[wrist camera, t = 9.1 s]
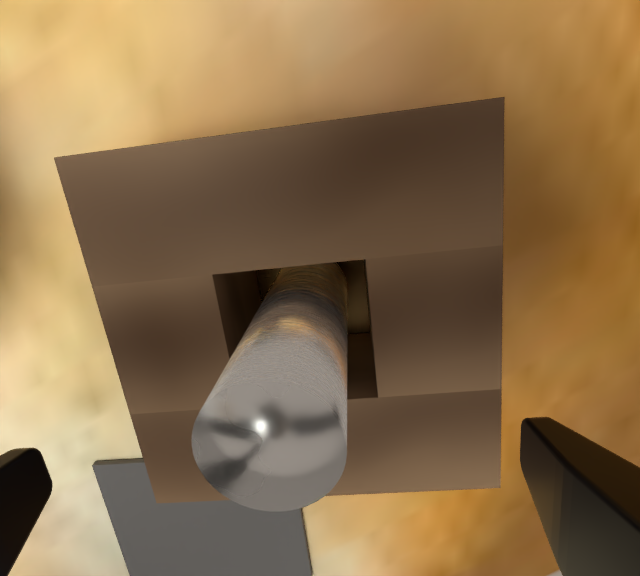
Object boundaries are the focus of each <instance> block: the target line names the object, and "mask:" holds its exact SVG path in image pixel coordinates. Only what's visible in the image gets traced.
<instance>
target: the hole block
mask: <svg viewBox="0 0 640 576" xmlns="http://www.w3.org/2000/svg"><path fill="white" fill-rule="evenodd" d="M54 160H55V163H56V166H57V170H58V173H59V177H60V180H61V183H62V187H63V190H64V193H65V197H66V200H67V203H68V207H69V210H70V214H71V217H72V220H73V224H74V227H75V230H76V234H77V237H78V240H79V244H80V247H81V251H82V254H83V257H84V261H85V264H86V267H87V271H88V274H89V277H90V281H91V284H92V288H93V291H94V294H95V298H96V301H97V304H98V308H99V311H100V315H101V318H102V321H103V325H104V328H105V331H106V335H107V338H108V341H109V345H110V348H111V352H112V355H113V358H114V362H115V365H116V368H117V372H118V375H119V378H120V382H121V385H122V389H123V392H124V395H125V399H126V402H127V405H128V409H129V412H130V415H131V419H132V422H133V426H134V429H135V432H136V436H137V439H138V442H139V446H140V449H141V452H142V456H143V459H144V463H145V466H146V469H147V473H148V476H149V479H150V483H151V486H152V489H153V493H154V496H155V500H156V503H178V502H200V501H222V500H230V499H229V498H227V497H225V496H224V495H222V494H221V493H220V492H218V491H217V490H216V489H215V488H214V487H213V486H212V485H211V484H210V483H209V482H208V481H207V480H206V479H205V477H204V476H203V474H202V473H201V471H200V470H199V468H198V466H197V464H196V461H195V458H194V455H193V450H192V430H193V426H194V423H195V420H196V418H197V416H198V414H199V412H200V410H201V408H202V407H203V405H204V403H205V402H206V400H207V398H208V396H209V395H210V393H211V391H212V389H213V388H214V386H215V384H216V382H217V381H218V379H219V377H220V375H221V374H222V372H223V370H224V368H225V367H226V365H227V363H228V361H229V360H230V358H231V356H232V354H233V353H234V351H235V349H236V347H237V346H238V344H239V342H240V340H241V339H242V337H243V335H244V333H245V332H246V330H247V328H248V326H249V325H250V323H251V321H252V319H253V318H254V316H255V314H256V312H257V311H258V309H259V307H260V305H261V300H260V295H259V289H258V283H257V277H256V271H255V270H262V269H272V268H282V267H292V266H302V265H312V264H322V263H332V262H342V261H352V260H362V259H364V267H365V278H366V289H367V300H368V311H369V321H370V332H371V333H360V334H348V335H347V457H346V464H345V467H344V471H343V473H342V475H341V477H340V479H339V481H338V482H337V484H336V485H335V486H334V487H333V489H332V490H331V491H330V492H329V493H327V494H326V495H325V496H332V495H354V494H376V493H397V492H419V491H441V490H463V489H485V488H500V478H501V380H502V282H503V184H504V97H500V98H493V99H486V100H478V101H471V102H463V103H456V104H448V105H441V106H434V107H426V108H419V109H411V110H404V111H397V112H389V113H382V114H374V115H367V116H359V117H352V118H345V119H337V120H330V121H322V122H315V123H307V124H300V125H293V126H285V127H278V128H270V129H263V130H255V131H248V132H241V133H233V134H226V135H218V136H211V137H203V138H196V139H189V140H181V141H174V142H166V143H159V144H151V145H144V146H137V147H129V148H122V149H114V150H107V151H99V152H92V153H85V154H77V155H70V156H62V157H55V158H54Z"/></svg>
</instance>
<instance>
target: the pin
mask: <svg viewBox="0 0 640 576" xmlns="http://www.w3.org/2000/svg"><path fill="white" fill-rule="evenodd" d="M347 332H348V285H347V280H346V277H345V274H344V272H343V271H342V269H341V268H340V267H339V266H338V264H336V263H335V262H332V263H322V264H312V265H302V266H292V267H282V269H281V270H280V272H279V274H278V276H277V277H276V279H275V281H274V283H273V284H272V286H271V288H270V290H269V291H268V293H267V295H266V297H265V298H264V300H263V302H262V304H261V305H260V307H259V309H258V311H257V312H256V314H255V316H254V318H253V319H252V321H251V323H250V325H249V326H248V328H247V330H246V332H245V333H244V335H243V337H242V339H241V340H240V342H239V344H238V346H237V347H236V349H235V351H234V353H233V354H232V356H231V358H230V360H229V361H228V363H227V365H226V367H225V368H224V370H223V372H222V374H221V375H220V377H219V379H218V381H217V382H216V384H215V386H214V388H213V389H212V391H211V393H210V395H209V396H208V398H207V400H206V402H205V403H204V405H203V407H202V408H201V410H200V412H199V414H198V416H197V418H196V420H195V423H194V426H193V430H192V450H193V455H194V458H195V461H196V464H197V466H198V468H199V470H200V471H201V473H202V474H203V476H204V477H205V479H206V480H207V481H208V482H209V483H210V484H211V485H212V486H213V487H214V488H215V489H216V490H217V491H218V492H220V493H221V494H222V495H224V496H225V497H227V498H229V499H230V500H232V501H234V502H236V503H238V504H240V505H243V506H246V507H249V508H252V509H257V510H262V511H277V512H280V511H290V510H295V509H299V508H302V507H305V506H308V505H310V504H312V503H314V502H316V501H318V500H319V499H321V498H323V497H324V496H325V495H326V494H327V493H329V492H330V491H331V490H332V489H333V487H334V486H335V485H336V484H337V482H338V481H339V479H340V477H341V475H342V473H343V471H344V467H345V464H346V457H347Z"/></svg>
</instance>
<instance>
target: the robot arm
mask: <svg viewBox="0 0 640 576" xmlns="http://www.w3.org/2000/svg"><path fill="white" fill-rule="evenodd" d="M520 462H521V467H522V471H523V474H524V477H525V480H526V482H527V485H528V488H529V490H530V493H531V496H532V498H533V501H534V504H535V506H536V509H537V512H538V514H539V517H540V520H541V522H542V525H543V528H544V530H545V533H546V536H547V538H548V541H549V544H550V546H551V549H552V552H553V554H554V557H555V559H556V562H557V564H558V566H559V568H560V571H561V573H562V575H563V576H640V467H638V466H636V465H634V464H632V463H631V462H629V461H627V460H625V459H623V458H622V457H620V456H618V455H616V454H614V453H613V452H611V451H609V450H607V449H605V448H604V447H602V446H600V445H598V444H596V443H595V442H593V441H591V440H589V439H587V438H586V437H584V436H582V435H580V434H578V433H577V432H575V431H573V430H571V429H569V428H568V427H566V426H564V425H562V424H560V423H559V422H557V421H555V420H553V419H551V418H549V417H535V418H525V419H524V420H523V421H522V424H521V444H520ZM51 491H52V480H51V477H50V475H49V472H48V469H47V467H46V464H45V462H44V459H43V456H42V454H41V452H40V451H39V450H38V449H36V448H19V449H13V450H11V451H8V452H6V453H4V454H2V455H0V576H8V574H9V572H10V571H11V569H12V567H13V565H14V563H15V561H16V560H17V558H18V556H19V554H20V552H21V550H22V548H23V546H24V544H25V542H26V541H27V539H28V537H29V535H30V533H31V531H32V529H33V527H34V525H35V523H36V522H37V520H38V518H39V516H40V514H41V512H42V510H43V508H44V506H45V504H46V503H47V501H48V499H49V497H50V495H51Z"/></svg>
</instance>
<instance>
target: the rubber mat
mask: <svg viewBox="0 0 640 576" xmlns="http://www.w3.org/2000/svg"><path fill="white" fill-rule="evenodd" d="M92 467H93V470H94V472H95V475H96V478H97V481H98V484H99V487H100V490H101V493H102V496H103V499H104V502H105V504H106V507H107V510H108V513H109V516H110V519H111V522H112V525H113V528H114V531H115V534H116V537H117V539H118V542H119V545H120V548H121V551H122V554H123V557H124V560H125V563H126V566H127V569H128V571H129V574H130V576H312V568H311V562H310V557H309V551H308V545H307V539H306V533H305V527H304V521H303V515H302V509H301V508H299V509H295V510H290V511H280V512H277V511H262V510H257V509H252V508H249V507H246V506H243V505H240V504H238V503H236V502H234V501H232V500H222V501H200V502H178V503H156V500H155V496H154V493H153V489H152V486H151V483H150V479H149V476H148V473H147V469H146V466H145V463H144V459H125V460H107V461H95V462H94V464H93V465H92Z"/></svg>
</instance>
